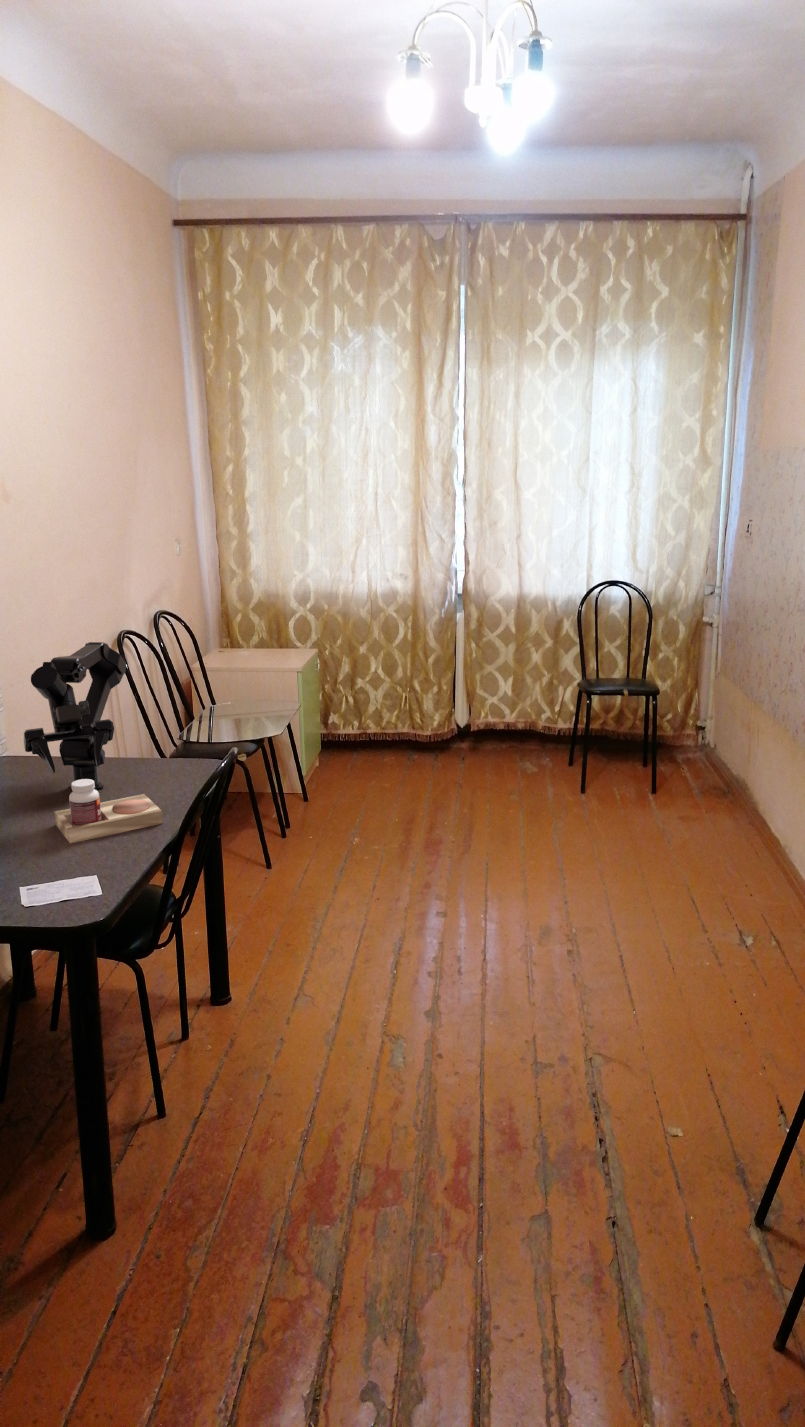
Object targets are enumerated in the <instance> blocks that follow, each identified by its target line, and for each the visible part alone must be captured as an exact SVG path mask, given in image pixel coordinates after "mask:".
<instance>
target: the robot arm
mask: <svg viewBox="0 0 805 1427" xmlns="http://www.w3.org/2000/svg"><path fill="white" fill-rule="evenodd" d="M126 664H127V663H126V661H125V659H124V658H123V657H122V655H121V653H119V652H117V651H116V650H114V649H112V648H111V647H110V646H109V644H108V643H106V642H103V641H96V642H95V641H94V642H93V641H89V642H87V643H85V645H84V646H83V647H81V648H80V649H78V650H76V651H75V652H74V653H71V654H70V655H65V656H64V655H63V656H56V657H53V658H52V659H51V660H50V661H43V662H42V666H40V667H38V668H36V669H35V670H34V672H33V673H32V674H31V675H30V682H31V684H32V686H33V687H34V688H35V689H36V690H37V692H38V693H39V694H40V695H41V696H42V697H43V698H44V699H46V700H47V701H48V706H49V711H50V715H51V716H50V717H51V720H52V725H53V730H54V731H53V732H46V733H44V728H43V727H38V728H29V729H25V730H24V732H23V747H24V751H25V752H26V753H32V755H37V756H38V757H39V758H41V759H42V760H43V762H44V763H45V764H46V766H47V767H48V768H49V770H50V771H51V772H52V773H53V774H56V768H55V764H54V760H53V757H52V755H51V751H50V748H49V744H48V743H49V742H52V743H53V742H57V741H60V743H59V751H58V752H59V755H60V757H61V761H62V764H63V766H64V767H65V766H69V767H70V766H71V767H72V769H71V770H72V778H73V780H72V781H73V782H74V781H76V780H80V779H91V780H93V781H94V783H95V788H94V789H95V790H97V791H98V790H101V789H104V785H103V784H102V783H101V782H100V781H99V780H100V779H99V772H98V770H99V769H98V768H99V767H100V766H101V765H105V759H106V752H105V750H104V748H103V746H106V745H107V744H108V742H110V741H112V740H113V738H114V733H115V727H114V723H113V722H114V721H112V720H110V719H109V718H108V719H102V716H103V714H104V711H105V708H106V705H107V702H108V698H109V695H110V693H111V690H112V689H114V687H116V686H118V685H119V684H120V683H121V681H122V679H123V677H124V675H125V674H126V671H127V666H126ZM87 670H88V673H89V675H90V677H91V684H90V685H89V689H88V692H87V695H86V697H85V700H80V701H79V702H78V703H77V701H76V697H75V696H76V695H75V691H74V688H73V686H72V685H71V684H80V683H82V681H84V679H85V678H86V677H87ZM71 784H72V782H71V783H70V784H69V787H71ZM71 789H72V787H71Z"/></svg>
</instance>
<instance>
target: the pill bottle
mask: <svg viewBox="0 0 805 1427" xmlns="http://www.w3.org/2000/svg"><path fill="white" fill-rule="evenodd" d="M71 783H72V784H71ZM71 783H70V784H71V786H70V787H72V788H71V790H72V791H71V792H70V794H69V797H68V799H69V800H68V801H69V809H70V812H71V822H72V827H76V826H80V825H85V824H90V823H95V822H100V821H102V819H101V809H100V803H101V799H100V793H99V791H98V789H97V790H95V789H94V788H95V783H94V781H93V780H91V779H80V780H76V781H74V780H73V781H72V782H71Z"/></svg>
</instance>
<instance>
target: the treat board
mask: <svg viewBox="0 0 805 1427" xmlns="http://www.w3.org/2000/svg"><path fill="white" fill-rule="evenodd" d="M100 809H101V819H102V821H100V822H95V823H90V824H85V825H80V826H76V827H72V822H71V812H70V808H67V809H61V810H56V811H53V812H54V819H55V820H54V821H55V825H56V827H57V828H58V830H59V831H60V832H61V833H62V835H63V836H64V837H65V839H66V840H67V842H68V843H69V844H74V843H79V842H83V841H87V840H91V839H92V840H93V839H97V838H102V837H106V836H111V835H115V834H120V833H125V832H129V831H133V830H138V829H143V828H148V827H152V826H157V825H158V826H159V825H162V824H163V823H164V822H163V810H162V809H160V807H159V806H158V805H157V804H155V803H154V802H153V800H151V799H150V798H149V797H148V796H147V795H146V794H145V793H141V794H137V795H132V796H127V797H122V798H118V799H112V800H107V801H103V802H101V801H100Z"/></svg>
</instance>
